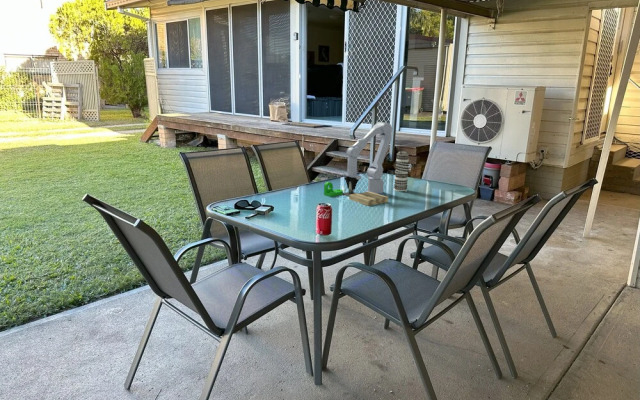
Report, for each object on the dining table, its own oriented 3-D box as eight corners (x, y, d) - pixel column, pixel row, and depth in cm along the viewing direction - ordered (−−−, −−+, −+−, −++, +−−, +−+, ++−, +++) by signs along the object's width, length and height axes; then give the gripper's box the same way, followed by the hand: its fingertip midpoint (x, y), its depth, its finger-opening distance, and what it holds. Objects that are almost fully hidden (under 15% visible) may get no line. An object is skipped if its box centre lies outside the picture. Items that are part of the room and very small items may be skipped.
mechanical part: (330, 197, 257) (330, 184, 255) (323, 195, 262) (323, 182, 260) (344, 193, 265) (345, 181, 263) (338, 192, 269) (338, 179, 267)
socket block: (369, 196, 262) (369, 191, 261) (388, 202, 249) (388, 197, 248) (349, 199, 252) (349, 194, 252) (367, 205, 240) (367, 200, 239)
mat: (351, 192, 271) (352, 191, 271) (362, 195, 264) (362, 194, 264) (339, 194, 266) (339, 193, 266) (350, 197, 258) (350, 196, 258)
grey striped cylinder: (393, 191, 276) (395, 152, 270) (393, 188, 285) (395, 150, 279) (407, 192, 275) (410, 153, 269) (407, 189, 284) (410, 151, 277)
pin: (351, 193, 267) (351, 180, 265) (354, 194, 264) (355, 181, 262) (347, 193, 265) (347, 181, 263) (350, 195, 262) (351, 182, 260)
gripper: (339, 166, 264) (338, 187, 267) (354, 169, 252) (353, 192, 256) (348, 165, 268) (347, 186, 271) (363, 168, 256) (362, 190, 260)
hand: (351, 189), depth 264 cm, fingers closed on pin, 3 cm apart
